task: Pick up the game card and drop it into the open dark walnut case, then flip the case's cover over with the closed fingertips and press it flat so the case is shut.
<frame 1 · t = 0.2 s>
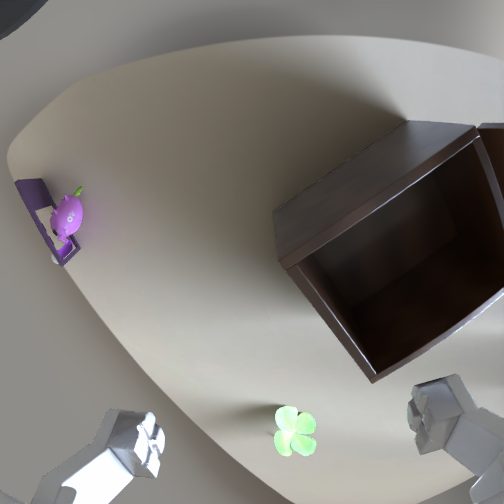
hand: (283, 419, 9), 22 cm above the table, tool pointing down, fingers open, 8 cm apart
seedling: (285, 418, 41), on the table
case: (379, 222, 29), on the table
game card: (73, 203, 30), on the table
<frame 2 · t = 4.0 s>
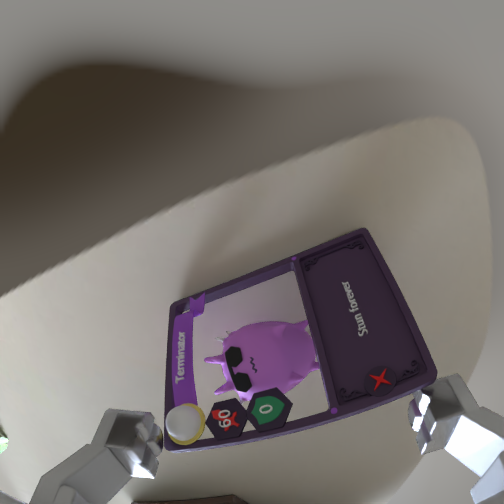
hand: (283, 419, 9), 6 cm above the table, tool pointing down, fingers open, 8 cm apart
game card: (283, 307, 14), on the table, touching gripper
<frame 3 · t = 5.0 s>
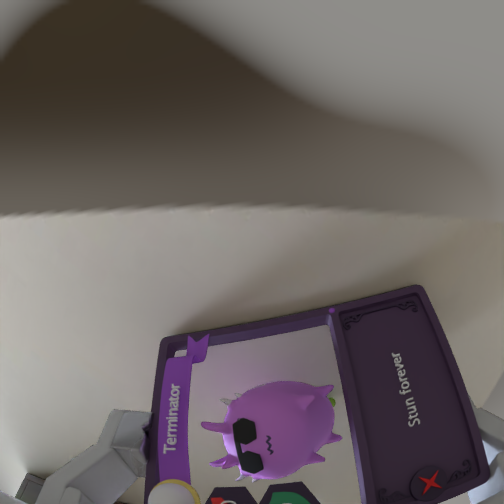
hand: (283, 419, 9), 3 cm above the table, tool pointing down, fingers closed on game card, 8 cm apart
game card: (301, 361, 11), on the table, touching gripper
when the fingers open (15 cm above the table, at t = 13.5 s): game card drops 5 cm, resting on case.
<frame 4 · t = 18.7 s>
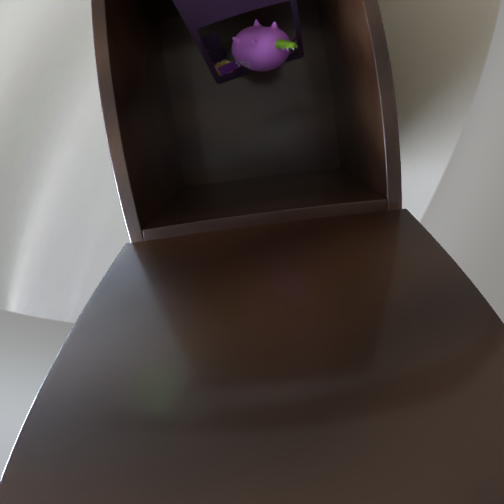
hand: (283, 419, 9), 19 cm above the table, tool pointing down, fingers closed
cover: (272, 380, 8), point 19 cm above the table, hinge at 97.2°, touching gripper
case: (249, 87, 22), on the table
game card: (302, 31, 15), point 6 cm above the table, touching case
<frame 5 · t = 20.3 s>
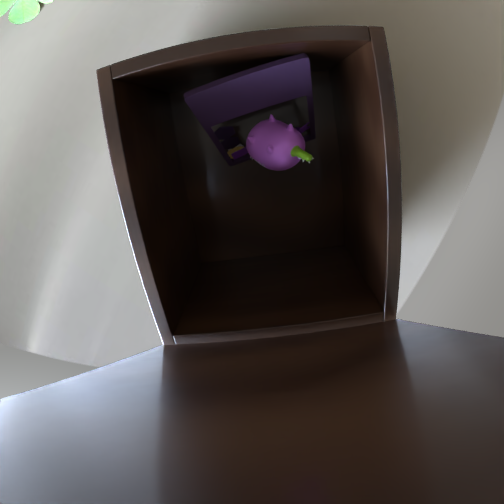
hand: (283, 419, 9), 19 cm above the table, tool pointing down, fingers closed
cover: (275, 383, 9), point 18 cm above the table, hinge at 59.3°, touching gripper
case: (261, 167, 25), on the table
game card: (317, 131, 18), point 6 cm above the table, touching case
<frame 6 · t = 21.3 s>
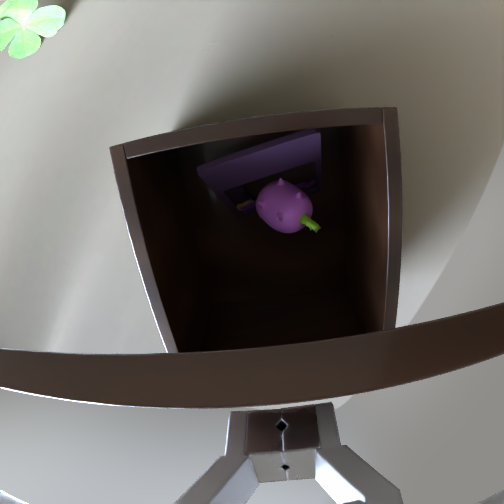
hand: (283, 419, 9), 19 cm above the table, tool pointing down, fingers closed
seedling: (42, 20, 19), on the table
cover: (281, 389, 11), point 17 cm above the table, hinge at 41.5°
case: (268, 216, 26), on the table
game card: (324, 196, 19), point 6 cm above the table, touching case
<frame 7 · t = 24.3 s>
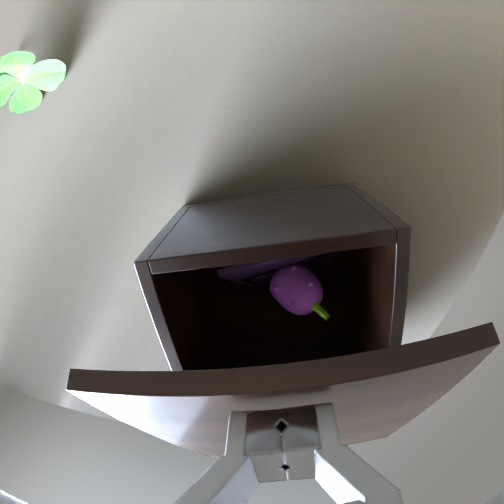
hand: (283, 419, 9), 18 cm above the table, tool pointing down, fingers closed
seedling: (42, 71, 21), on the table
cover: (291, 429, 14), point 15 cm above the table, hinge at 25.4°, touching gripper
case: (280, 282, 28), on the table
game card: (334, 283, 21), point 6 cm above the table, touching case
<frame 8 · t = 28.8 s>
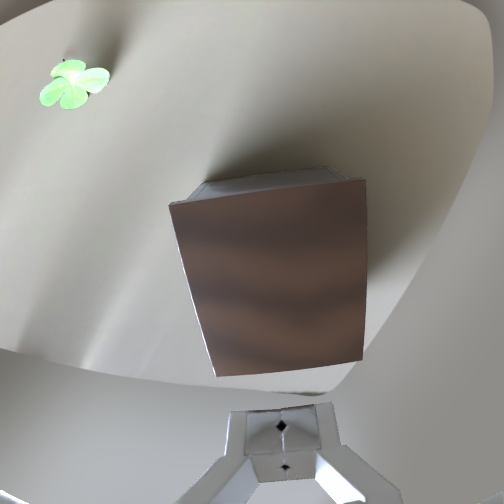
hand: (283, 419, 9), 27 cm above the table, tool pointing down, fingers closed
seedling: (86, 76, 29), on the table
cover: (280, 293, 25), point 12 cm above the table, hinge at 1.8°
case: (275, 243, 36), on the table
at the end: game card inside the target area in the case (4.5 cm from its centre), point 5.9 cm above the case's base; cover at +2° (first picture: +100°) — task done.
